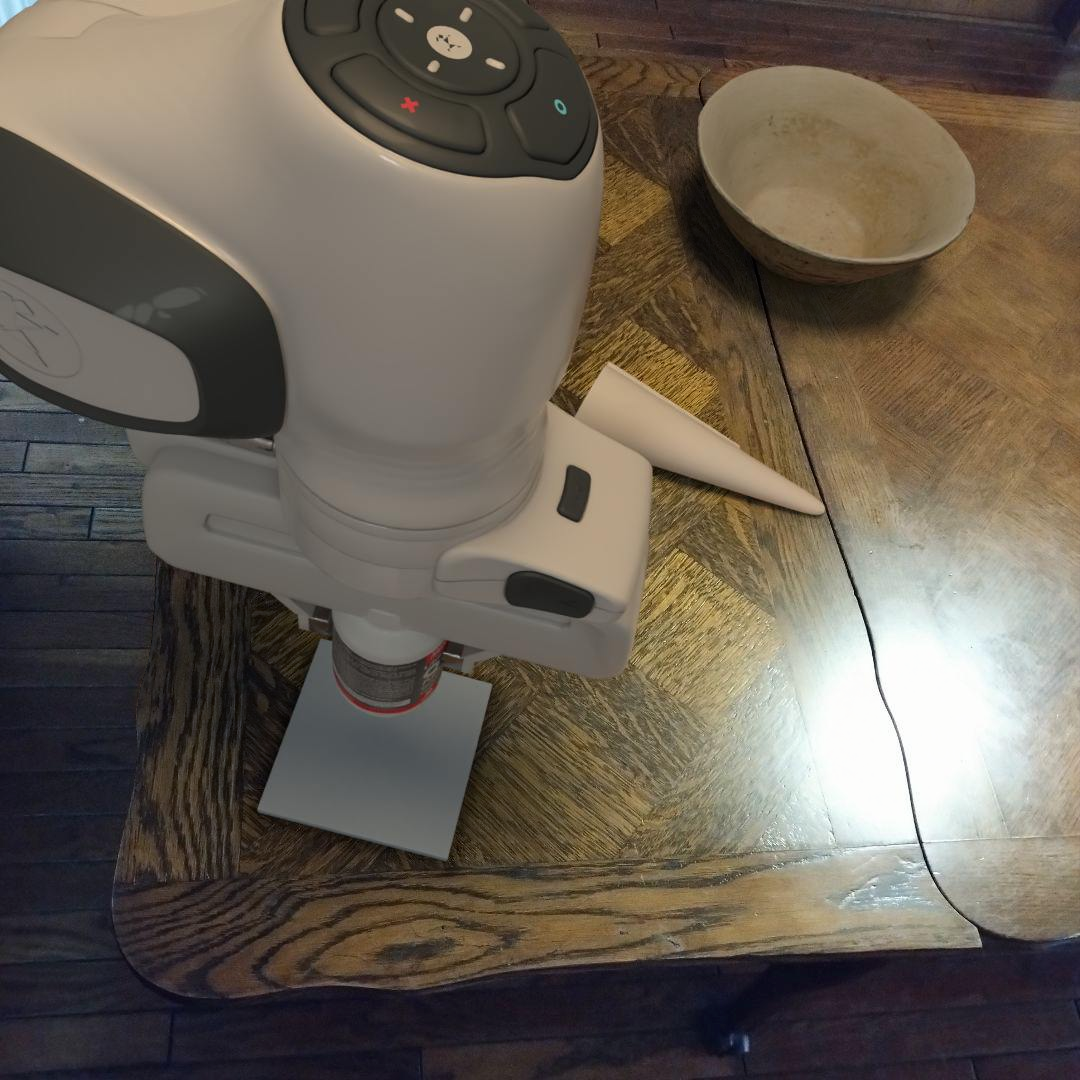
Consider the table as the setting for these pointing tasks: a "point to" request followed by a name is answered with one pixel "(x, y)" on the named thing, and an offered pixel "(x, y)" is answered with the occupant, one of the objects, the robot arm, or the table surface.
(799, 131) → the bowl
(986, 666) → the table surface
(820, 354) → the table surface
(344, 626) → the pill bottle
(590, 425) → the long cone
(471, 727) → the coaster
